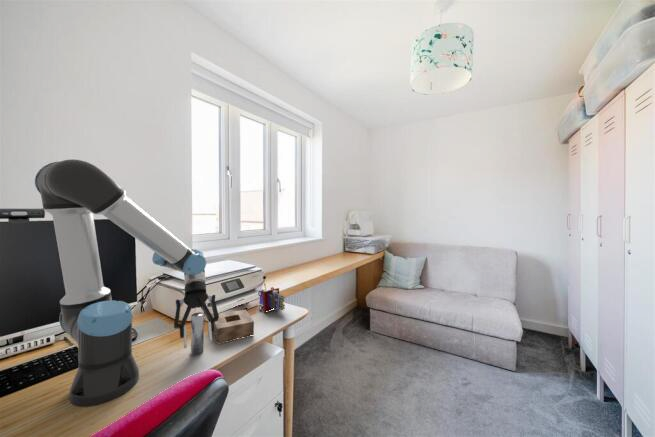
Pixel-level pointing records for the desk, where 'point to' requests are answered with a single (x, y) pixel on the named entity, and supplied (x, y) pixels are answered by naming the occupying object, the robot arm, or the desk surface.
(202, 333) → the steel pin
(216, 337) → the walnut socket block
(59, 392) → the desk surface
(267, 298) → the robot toy
